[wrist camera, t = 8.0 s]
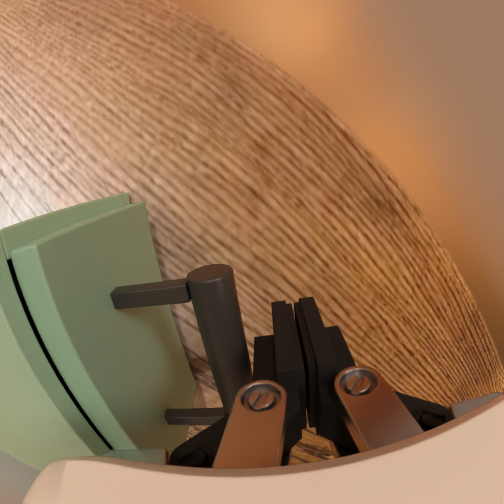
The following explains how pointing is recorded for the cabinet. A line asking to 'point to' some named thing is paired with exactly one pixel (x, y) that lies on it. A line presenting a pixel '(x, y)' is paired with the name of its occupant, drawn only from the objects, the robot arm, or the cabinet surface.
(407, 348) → the cabinet surface
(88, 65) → the cabinet surface
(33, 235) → the green drawer box
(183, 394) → the green cabinet drawer
